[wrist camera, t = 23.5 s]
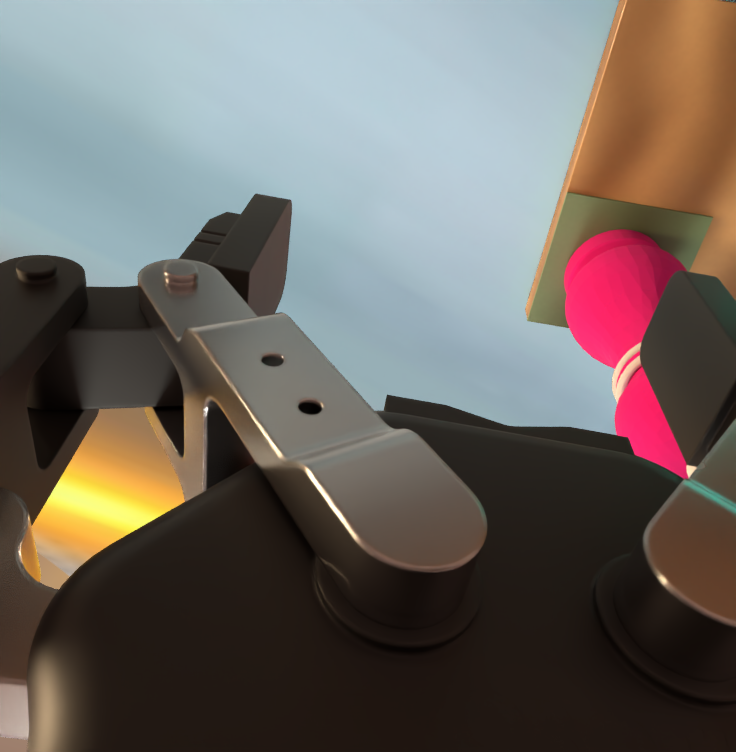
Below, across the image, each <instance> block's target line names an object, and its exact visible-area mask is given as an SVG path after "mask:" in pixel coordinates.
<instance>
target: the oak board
mask: <svg viewBox="0 0 736 752" xmlns="http://www.w3.org/2000/svg"><path fill="white" fill-rule="evenodd" d="M618 229H626V230H633V231H637V232H640V233H642V234H644V235H646V236H648V237H650V238H651V239H652V240H654V241H655V242H656V244H657V245H658V246H659V247H660V249H662V250H664V251H666V252H668V253H670V254H671V255H673V256H674V257H675V258H676V259H678V260H679V261H680V262H681V263H682V264H683V266H684V267H685V268H686V270H687V271H688V272H693V273H699V274H705V275H710V276H715V277H717V278H718V279H719V280H720V281H721V282H722V284H723V285H724V286H725V288H726V289H727V290H728V291H729V293H730V294H731V295H732V297H733V298H734V299H735V300H736V3H735V2H729V1H723V0H620V1H619V4H618V7H617V11H616V14H615V17H614V20H613V24H612V27H611V30H610V34H609V37H608V40H607V43H606V47H605V50H604V53H603V56H602V60H601V63H600V66H599V70H598V73H597V76H596V79H595V83H594V86H593V89H592V92H591V96H590V99H589V102H588V106H587V109H586V112H585V115H584V119H583V122H582V125H581V128H580V132H579V135H578V138H577V142H576V145H575V148H574V151H573V155H572V158H571V161H570V164H569V168H568V171H567V174H566V178H565V181H564V184H563V187H562V191H561V194H560V197H559V200H558V204H557V207H556V210H555V214H554V217H553V220H552V223H551V227H550V230H549V233H548V236H547V240H546V243H545V246H544V250H543V253H542V256H541V259H540V263H539V266H538V269H537V272H536V276H535V279H534V282H533V286H532V289H531V292H530V295H529V299H528V302H527V305H526V309H525V310H526V315H527V321H531V322H537V323H543V324H549V325H554V326H560V327H566V328H569V326H568V323H567V320H566V315H565V301H566V296H567V294H566V291H565V286H564V274H565V270H566V267H567V264H568V262H569V260H570V258H571V257H572V255H573V254H574V252H575V251H576V250H577V249H578V248H579V247H580V246H581V245H582V244H583V243H584V242H586V241H587V240H589V239H590V238H592V237H594V236H596V235H598V234H600V233H603V232H607V231H610V230H618Z"/></svg>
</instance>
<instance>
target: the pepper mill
mask: <svg viewBox="0 0 736 752" xmlns="http://www.w3.org/2000/svg"><path fill="white" fill-rule="evenodd" d="M679 270H682V271H687V270H686V268H685V267H684V266H683V264H682V263H681V262H680V261H679V260H678V259H676V258H675V257H674V256H673V255H671V254H670V253H668V252H666V251H664V250H662V249H660V247H659V246H658V245H657V244H656V242H655V241H654V240H652V239H651V238H650V237H648V236H646V235H644V234H642V233H640V232H637V231H633V230H626V229H618V230H610V231H607V232H603V233H600V234H598V235H596V236H594V237H592V238H590V239H589V240H587V241H586V242H584V243H583V244H582V245H581V246H580V247H579V248H578V249H577V250H576V251H575V252H574V254H573V255H572V257H571V258H570V260H569V262H568V264H567V267H566V270H565V274H564V286H565V291H566V294H567V296H566V301H565V315H566V320H567V323H568V326H569V328H570V330H571V332H572V334H573V336H574V338H575V340H576V341H577V342H578V343H579V345H580V346H581V347H582V348H583V349H584V350H585V351H586V352H587V353H588V354H590V355H591V356H592V357H593V358H595V359H596V360H598V361H600V362H602V363H603V364H605V365H607V366H610V367H612V368H614V369H615V370H614V374H613V379H612V390H613V394H614V397H615V398H616V400H617V407H616V413H615V427H616V433H617V435H618V436H623V437H628V438H629V440H630V443H631V446H632V449H633V451H634V454H635V455H637V456H640V457H642V458H645V459H647V460H649V461H652V462H654V463H656V464H658V465H660V466H662V467H664V468H666V469H668V470H670V471H672V472H673V473H675V474H677V475H679V476H680V477H682V478H683V479H685V478H687V479H688V478H689V477H690V476H691V474H692V473H693V472H694V470H695V469H696V468H697V467H694V466H689V465H687V464H686V462H685V460H684V458H683V455H682V453H681V451H680V449H679V447H678V444H677V442H676V440H675V438H674V436H673V433H672V431H671V429H670V427H669V425H668V422H667V420H666V418H665V416H664V414H663V411H662V409H661V407H660V405H659V403H658V400H657V398H656V396H655V394H654V391H653V389H652V387H651V385H650V383H649V380H648V378H647V376H646V374H645V372H644V369H643V367H642V365H641V362H640V347H641V342H642V339H643V336H644V334H645V331H646V329H647V327H648V325H649V323H650V320H651V318H652V316H653V314H654V312H655V309H656V307H657V305H658V303H659V301H660V298H661V296H662V294H663V292H664V290H665V287H666V285H667V283H668V281H669V279H670V278H671V276H672V275H673V274H674V273H675V272H676V271H679Z"/></svg>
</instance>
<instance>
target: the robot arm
mask: <svg viewBox="0 0 736 752" xmlns="http://www.w3.org/2000/svg"><path fill="white" fill-rule="evenodd" d="M291 214H292V203H291V200H288V199H283V198H277V197H272V196H266V195H260V194H255V195H254V196H253V198H252V199H251V201H250V202H249V203H248V205H247V206H246V208H245V209H244V211H243V212H242V214H235V213H230V212H226V213H224V214H221V215H219V216H217V217H214V218H212V219H210V220H209V221H208V222H207V223H206V225H205V226H204V227H203V229H202V230H201V232H199V234H198V235H197V236H196V237H195V239H194V241H192V242H191V244H190V245H189V246H188V248H187V249H186V250H185V251H184V253H183V254H182V255H181V256H180V258H179V259H170V260H162V261H158V262H154V263H152V264H149V265H147V266H145V267H144V268H143V269H141V271H140V272H139V274H138V286H130V287H86V278H85V271H84V269H83V267H82V266H80V265H79V264H78V263H76V262H74V261H72V260H70V259H66V258H63V257H58V256H50V255H31V256H23V257H18V258H13V259H10V260H7V261H4V262H2V263H0V737H8V738H17V739H27V740H28V743H27V752H736V300H735V299H734V298H733V297H732V295H731V294H730V293H729V291H728V290H727V289H726V288H725V286H724V285H723V284H722V282H721V281H720V280H719V279H718V278H717V277H715V276H710V275H705V274H699V273H693V272H688V271H682V270H679V271H676V272H675V273H674V274H673V275H672V276H671V278H670V279H669V281H668V283H667V285H666V287H665V290H664V292H663V294H662V296H661V298H660V301H659V303H658V305H657V307H656V309H655V312H654V314H653V316H652V318H651V320H650V323H649V325H648V327H647V329H646V331H645V334H644V336H643V339H642V342H641V347H640V362H641V365H642V367H643V369H644V372H645V374H646V376H647V378H648V380H649V383H650V385H651V387H652V389H653V391H654V394H655V396H656V398H657V400H658V403H659V405H660V407H661V409H662V411H663V414H664V416H665V418H666V420H667V422H668V425H669V427H670V429H671V431H672V433H673V436H674V438H675V440H676V442H677V444H678V447H679V449H680V451H681V453H682V455H683V458H684V460H685V462H686V464H687V465H689V466H694V467H697V468H696V469H695V470H694V472H693V473H692V474H691V476H690V477H689V478H688V479H687V478H685V479H683V478H682V477H680V476H679V475H677V474H675V473H673V472H672V471H670V470H668V469H666V468H664V467H662V466H660V465H658V464H656V463H654V462H652V461H649V460H647V459H645V458H642V457H640V456H637V455H635V454H634V451H633V449H632V446H631V443H630V440H629V438H628V437H623V436H618V435H612V434H606V433H601V432H595V431H589V430H584V429H578V428H572V427H514V426H507V425H503V424H500V423H497V422H494V421H491V420H488V419H485V418H483V417H480V416H477V415H474V414H471V413H468V412H465V411H462V410H459V409H456V408H453V407H450V406H447V405H442V404H436V403H431V402H425V401H419V400H414V399H408V398H402V397H396V396H391V395H387V397H386V402H385V407H384V411H374V410H373V409H372V408H371V406H370V405H369V404H368V403H367V402H366V401H365V400H364V399H363V398H362V396H361V395H360V394H359V393H358V392H357V391H356V390H355V389H354V388H353V387H352V385H351V384H350V383H349V382H348V381H347V380H346V379H345V378H344V377H343V375H342V374H341V373H340V372H339V371H338V370H337V369H336V368H335V367H334V366H333V364H332V363H331V362H330V361H329V360H328V359H327V358H326V357H325V356H324V354H323V353H322V352H321V351H320V350H319V349H318V348H317V347H316V346H315V345H314V343H313V342H312V341H311V340H310V339H309V338H308V337H307V336H306V335H305V334H304V332H303V331H302V330H301V329H300V328H299V327H298V326H297V325H296V324H295V322H294V321H293V320H292V319H291V318H290V317H289V316H288V315H286V314H285V313H276V314H275V312H276V309H277V307H278V305H279V302H280V300H281V297H282V294H283V290H284V285H285V279H286V272H287V261H288V249H289V238H290V226H291ZM135 407H145V413H146V416H147V418H148V420H149V422H150V424H151V426H152V428H153V430H154V431H155V433H156V435H157V437H158V439H159V441H160V443H161V445H162V447H163V449H164V451H165V453H166V455H167V456H168V458H169V460H170V462H171V464H172V466H173V468H174V470H175V472H176V474H177V476H178V478H179V480H180V483H181V486H182V490H183V494H184V499H185V502H184V503H182V504H181V505H179V506H177V507H175V508H174V509H172V510H170V511H168V512H167V513H165V514H163V515H161V516H160V517H158V518H156V519H154V520H153V521H151V522H149V523H147V524H146V525H144V526H142V527H140V528H139V529H137V530H135V531H133V532H132V533H130V534H128V535H126V536H125V537H123V538H121V539H119V540H118V541H116V542H114V543H112V544H111V545H109V546H108V547H106V548H104V549H103V550H101V551H100V552H98V553H97V554H95V555H94V556H92V557H91V558H90V559H89V560H87V561H86V562H85V563H84V564H83V565H81V566H80V567H79V568H78V569H77V570H76V571H75V572H74V573H73V574H72V575H71V576H70V577H69V578H68V580H67V581H66V582H65V583H64V584H63V585H62V586H61V588H60V589H59V590H58V589H54V588H51V587H48V586H45V585H43V584H42V583H40V577H41V574H40V566H39V561H38V557H37V551H36V546H35V541H34V537H33V532H32V527H31V526H32V525H33V523H34V521H35V520H36V518H37V516H38V514H39V513H40V511H41V509H42V508H43V506H44V504H45V503H46V501H47V499H48V498H49V496H50V494H51V493H52V491H53V489H54V487H55V486H56V484H57V482H58V481H59V479H60V477H61V476H62V474H63V472H64V471H65V469H66V467H67V466H68V464H69V462H70V461H71V459H72V457H73V455H74V454H75V452H76V450H77V449H78V447H79V445H80V444H81V442H82V440H83V439H84V437H85V435H86V434H87V432H88V430H89V428H90V427H91V425H92V423H93V422H94V420H95V418H96V417H97V414H98V412H99V409H110V408H135Z"/></svg>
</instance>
